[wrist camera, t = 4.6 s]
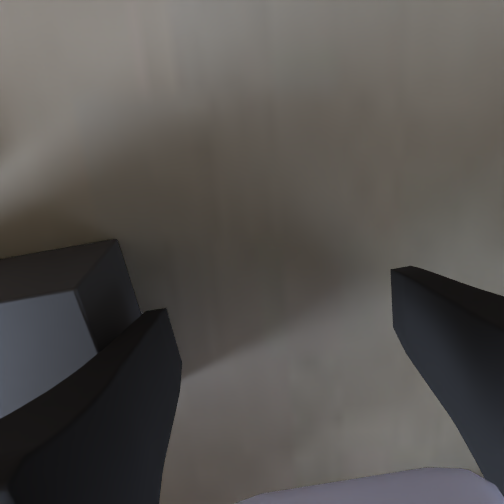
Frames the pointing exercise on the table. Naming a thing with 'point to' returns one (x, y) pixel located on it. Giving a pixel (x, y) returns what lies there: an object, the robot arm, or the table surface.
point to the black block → (59, 315)
